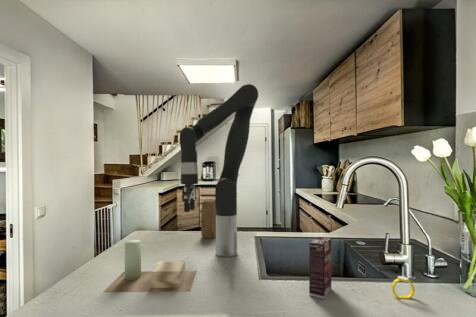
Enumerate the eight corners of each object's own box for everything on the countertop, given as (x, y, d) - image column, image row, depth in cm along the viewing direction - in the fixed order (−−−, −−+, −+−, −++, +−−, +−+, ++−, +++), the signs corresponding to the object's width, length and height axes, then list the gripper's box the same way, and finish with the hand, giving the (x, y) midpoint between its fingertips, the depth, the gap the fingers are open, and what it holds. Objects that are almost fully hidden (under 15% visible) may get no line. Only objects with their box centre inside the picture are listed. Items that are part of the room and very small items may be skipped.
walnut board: (196, 274, 101) (196, 271, 101) (189, 295, 85) (189, 291, 85) (123, 275, 101) (123, 271, 101) (103, 296, 85) (103, 291, 85)
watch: (410, 297, 84) (412, 277, 84) (415, 301, 81) (416, 280, 82) (389, 294, 85) (390, 274, 85) (393, 299, 82) (395, 278, 82)
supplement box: (325, 300, 82) (324, 244, 82) (308, 296, 84) (308, 242, 85) (332, 288, 89) (331, 238, 90) (317, 285, 92) (316, 236, 92)
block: (213, 239, 148) (213, 201, 149) (200, 238, 150) (199, 200, 150) (218, 234, 159) (218, 198, 159) (205, 233, 160) (205, 198, 161)
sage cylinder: (143, 274, 99) (143, 239, 99) (138, 280, 93) (138, 243, 94) (128, 274, 99) (128, 239, 99) (122, 280, 93) (122, 243, 94)
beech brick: (184, 276, 97) (184, 261, 97) (179, 287, 88) (179, 271, 88) (158, 276, 97) (158, 261, 97) (150, 287, 88) (150, 271, 88)
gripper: (193, 172, 116) (194, 212, 115) (201, 173, 130) (201, 209, 129) (175, 173, 117) (176, 212, 116) (185, 173, 131) (185, 209, 130)
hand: (189, 210), depth 122 cm, fingers open, 8 cm apart
